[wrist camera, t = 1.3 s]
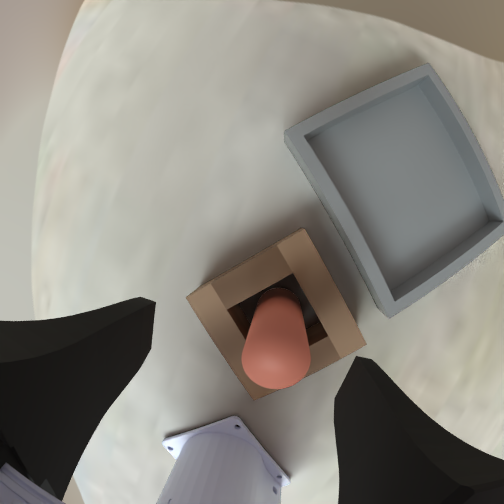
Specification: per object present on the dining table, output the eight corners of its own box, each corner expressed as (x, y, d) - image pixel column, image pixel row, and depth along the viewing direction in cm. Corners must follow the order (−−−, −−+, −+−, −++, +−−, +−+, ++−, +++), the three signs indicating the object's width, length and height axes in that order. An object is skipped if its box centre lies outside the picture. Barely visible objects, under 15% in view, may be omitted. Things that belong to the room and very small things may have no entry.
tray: (494, 225, 18) (513, 226, 16) (377, 308, 20) (388, 318, 18) (416, 76, 18) (428, 62, 15) (284, 141, 20) (284, 130, 17)
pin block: (356, 328, 20) (366, 344, 17) (257, 379, 21) (253, 400, 18) (301, 227, 20) (304, 229, 17) (198, 287, 21) (185, 297, 18)
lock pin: (308, 316, 21) (322, 370, 13) (270, 337, 21) (263, 398, 13) (287, 279, 20) (290, 315, 13) (248, 301, 21) (228, 347, 13)
